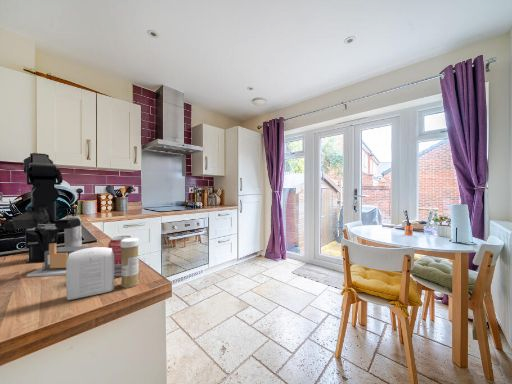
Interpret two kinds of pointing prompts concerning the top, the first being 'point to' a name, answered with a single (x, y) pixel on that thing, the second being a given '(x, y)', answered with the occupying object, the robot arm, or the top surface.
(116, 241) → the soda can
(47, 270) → the grey and white panel
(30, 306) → the top surface
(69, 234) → the energy drink can
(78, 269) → the grey rounded-corner block
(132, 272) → the sprinkles bottle
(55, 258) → the wooden block
